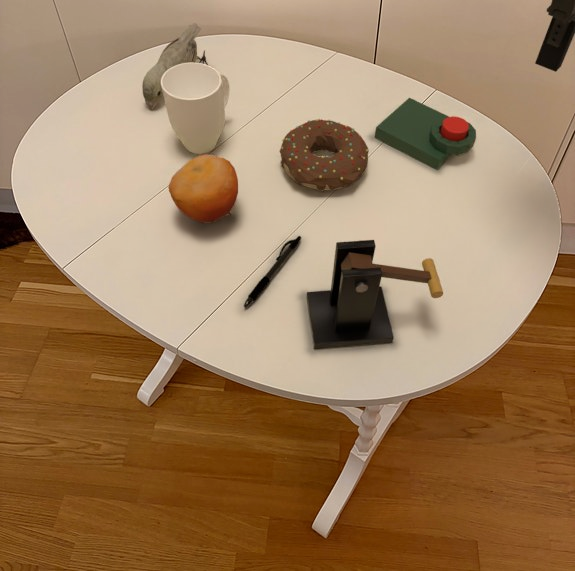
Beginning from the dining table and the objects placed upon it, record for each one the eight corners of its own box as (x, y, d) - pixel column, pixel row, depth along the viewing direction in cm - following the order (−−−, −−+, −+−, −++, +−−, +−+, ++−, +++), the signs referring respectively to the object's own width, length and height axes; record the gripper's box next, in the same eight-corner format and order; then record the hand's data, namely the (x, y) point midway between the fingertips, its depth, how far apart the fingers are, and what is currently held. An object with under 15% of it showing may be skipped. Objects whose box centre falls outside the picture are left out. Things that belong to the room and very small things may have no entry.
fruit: (194, 250, 85) (170, 203, 77) (180, 208, 90) (156, 160, 83) (257, 225, 85) (239, 176, 78) (238, 184, 91) (221, 135, 83)
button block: (481, 144, 98) (488, 124, 94) (450, 177, 93) (457, 157, 90) (407, 108, 103) (411, 88, 100) (374, 137, 98) (377, 118, 95)
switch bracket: (380, 291, 80) (395, 228, 70) (392, 342, 75) (410, 283, 65) (306, 297, 79) (310, 233, 69) (314, 349, 75) (319, 290, 64)
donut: (264, 154, 96) (264, 129, 91) (337, 128, 99) (340, 103, 95) (308, 212, 88) (310, 188, 84) (385, 182, 92) (390, 157, 88)
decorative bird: (136, 105, 102) (127, 67, 96) (187, 57, 111) (182, 19, 105) (163, 115, 101) (155, 77, 95) (212, 65, 109) (209, 27, 103)
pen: (293, 236, 85) (293, 231, 84) (303, 241, 85) (303, 236, 84) (238, 305, 78) (237, 300, 77) (248, 310, 78) (248, 306, 77)
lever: (427, 268, 74) (437, 256, 72) (437, 301, 71) (448, 289, 70) (338, 255, 70) (347, 242, 69) (345, 289, 67) (354, 277, 66)
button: (470, 132, 94) (473, 123, 92) (458, 145, 92) (460, 136, 90) (448, 121, 95) (451, 112, 94) (435, 134, 93) (437, 125, 92)
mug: (203, 170, 93) (194, 106, 84) (161, 147, 96) (148, 83, 86) (249, 130, 99) (245, 66, 89) (208, 110, 102) (200, 46, 92)
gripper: (626, -198, 58) (542, 31, 77) (572, -162, 52) (494, 77, 71) (707, -181, 55) (598, 52, 74) (659, -141, 49) (554, 102, 68)
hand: (548, 64), depth 72 cm, fingers closed
